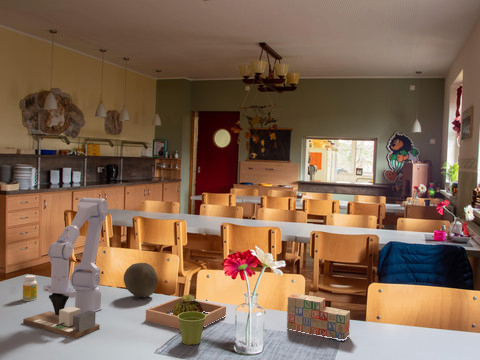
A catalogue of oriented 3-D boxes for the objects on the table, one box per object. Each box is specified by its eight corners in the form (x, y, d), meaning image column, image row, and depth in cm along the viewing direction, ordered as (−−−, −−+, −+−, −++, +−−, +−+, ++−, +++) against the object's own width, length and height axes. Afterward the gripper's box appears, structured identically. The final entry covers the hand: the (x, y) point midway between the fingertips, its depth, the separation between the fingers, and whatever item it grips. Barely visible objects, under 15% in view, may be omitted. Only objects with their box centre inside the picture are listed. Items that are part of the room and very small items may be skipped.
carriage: (70, 319, 166) (70, 306, 166) (80, 322, 164) (80, 308, 164) (51, 326, 159) (51, 312, 159) (61, 329, 157) (61, 314, 157)
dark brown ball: (146, 291, 213) (146, 258, 213) (163, 298, 203) (164, 264, 202) (117, 296, 204) (118, 262, 203) (134, 304, 193) (135, 268, 193)
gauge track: (49, 315, 176) (49, 297, 176) (99, 329, 163) (99, 310, 163) (23, 323, 167) (23, 304, 166) (74, 338, 154) (74, 318, 154)
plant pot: (193, 349, 148) (194, 322, 148) (170, 342, 153) (171, 316, 153) (211, 340, 156) (211, 315, 156) (188, 334, 161) (189, 309, 161)
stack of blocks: (349, 337, 164) (351, 302, 164) (344, 342, 159) (345, 306, 159) (293, 325, 175) (294, 292, 174) (286, 330, 169) (287, 296, 169)
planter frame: (179, 306, 192) (180, 296, 192) (225, 316, 181) (226, 306, 181) (145, 320, 174) (145, 309, 174) (194, 332, 163) (194, 321, 163)
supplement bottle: (31, 301, 192) (31, 278, 191) (19, 300, 193) (20, 277, 193) (39, 298, 197) (40, 275, 197) (28, 297, 198) (28, 274, 198)
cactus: (157, 325, 170) (158, 299, 169) (172, 312, 185) (173, 288, 185) (203, 330, 166) (204, 303, 166) (214, 316, 182) (215, 291, 182)
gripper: (36, 275, 165) (35, 313, 166) (64, 281, 158) (63, 321, 158) (53, 271, 171) (52, 308, 172) (81, 277, 164) (80, 315, 165)
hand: (59, 314), depth 166 cm, fingers closed
